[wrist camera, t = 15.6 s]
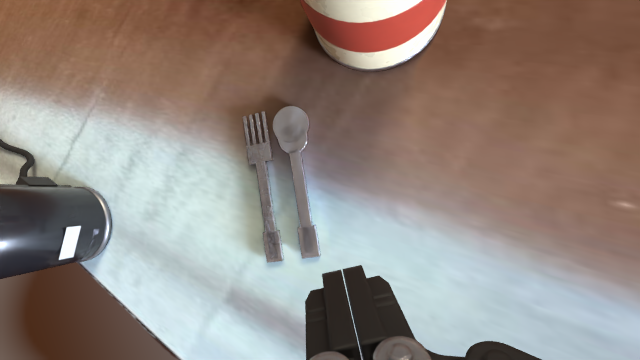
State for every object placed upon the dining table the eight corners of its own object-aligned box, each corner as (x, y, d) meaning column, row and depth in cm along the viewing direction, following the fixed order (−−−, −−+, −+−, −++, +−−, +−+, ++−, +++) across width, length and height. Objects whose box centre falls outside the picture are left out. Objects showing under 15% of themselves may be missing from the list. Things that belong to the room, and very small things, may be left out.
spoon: (330, 254, 31) (329, 255, 30) (294, 258, 31) (292, 259, 31) (306, 103, 32) (305, 101, 31) (271, 111, 33) (269, 110, 32)
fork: (288, 259, 32) (286, 260, 31) (264, 262, 32) (262, 263, 32) (266, 112, 33) (264, 110, 32) (243, 117, 33) (241, 116, 33)
